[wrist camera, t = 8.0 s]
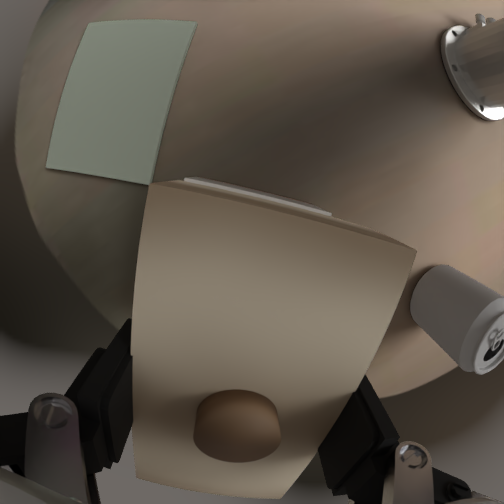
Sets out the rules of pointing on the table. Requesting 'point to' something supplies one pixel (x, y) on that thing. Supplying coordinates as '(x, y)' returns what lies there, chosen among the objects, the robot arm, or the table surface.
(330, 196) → the table surface
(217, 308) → the lid
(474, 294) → the can
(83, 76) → the mat
